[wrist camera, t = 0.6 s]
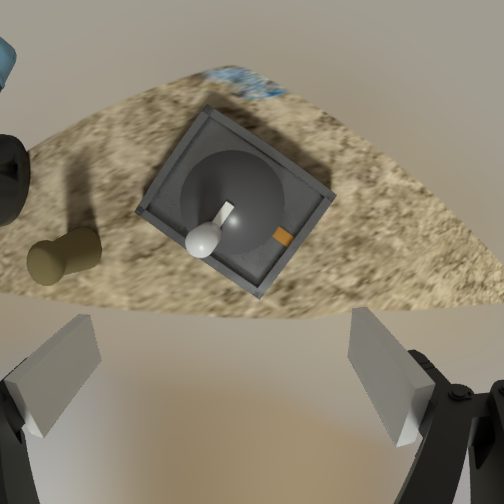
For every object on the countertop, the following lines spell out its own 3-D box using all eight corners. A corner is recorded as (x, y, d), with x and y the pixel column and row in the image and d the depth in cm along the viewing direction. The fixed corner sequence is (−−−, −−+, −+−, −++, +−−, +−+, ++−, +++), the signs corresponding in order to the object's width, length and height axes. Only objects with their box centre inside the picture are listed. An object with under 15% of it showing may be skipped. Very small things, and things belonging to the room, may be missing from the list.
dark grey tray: (143, 210, 37) (134, 211, 34) (210, 110, 34) (207, 104, 31) (259, 291, 39) (259, 299, 36) (330, 194, 36) (336, 195, 33)
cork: (80, 217, 37) (31, 227, 26) (109, 245, 38) (64, 264, 27) (61, 250, 38) (13, 268, 27) (88, 277, 39) (45, 303, 28)
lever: (222, 135, 33) (211, 116, 24) (301, 190, 34) (317, 190, 25) (168, 213, 35) (141, 221, 26) (245, 267, 36) (242, 292, 27)
